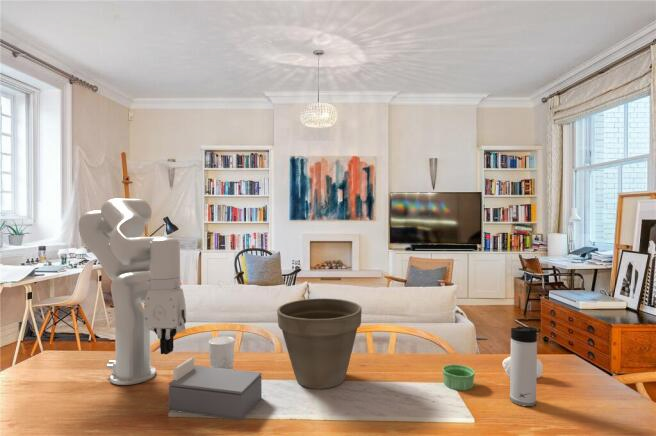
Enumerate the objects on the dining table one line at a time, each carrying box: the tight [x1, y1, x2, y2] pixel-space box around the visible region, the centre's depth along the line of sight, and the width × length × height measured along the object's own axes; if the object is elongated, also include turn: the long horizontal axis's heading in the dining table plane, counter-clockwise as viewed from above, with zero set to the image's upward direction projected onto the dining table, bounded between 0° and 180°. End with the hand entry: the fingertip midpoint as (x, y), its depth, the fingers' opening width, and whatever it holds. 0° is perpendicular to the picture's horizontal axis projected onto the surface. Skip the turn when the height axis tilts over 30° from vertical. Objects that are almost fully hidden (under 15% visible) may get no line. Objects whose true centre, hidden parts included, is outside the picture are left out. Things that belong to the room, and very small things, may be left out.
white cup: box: [208, 335, 236, 370], centre depth 129 cm, size 8×8×10 cm
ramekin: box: [441, 364, 476, 392], centre depth 120 cm, size 9×9×4 cm
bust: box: [502, 344, 544, 379], centre depth 127 cm, size 12×8×11 cm
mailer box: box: [168, 375, 263, 421], centre depth 108 cm, size 20×12×6 cm, turn 76°
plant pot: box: [276, 297, 363, 390], centre depth 124 cm, size 25×25×22 cm
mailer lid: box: [168, 357, 262, 394], centre depth 108 cm, size 20×12×4 cm, turn 76°
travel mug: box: [509, 326, 539, 407], centre depth 109 cm, size 6×7×20 cm
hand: (166, 352), depth 111 cm, fingers closed
